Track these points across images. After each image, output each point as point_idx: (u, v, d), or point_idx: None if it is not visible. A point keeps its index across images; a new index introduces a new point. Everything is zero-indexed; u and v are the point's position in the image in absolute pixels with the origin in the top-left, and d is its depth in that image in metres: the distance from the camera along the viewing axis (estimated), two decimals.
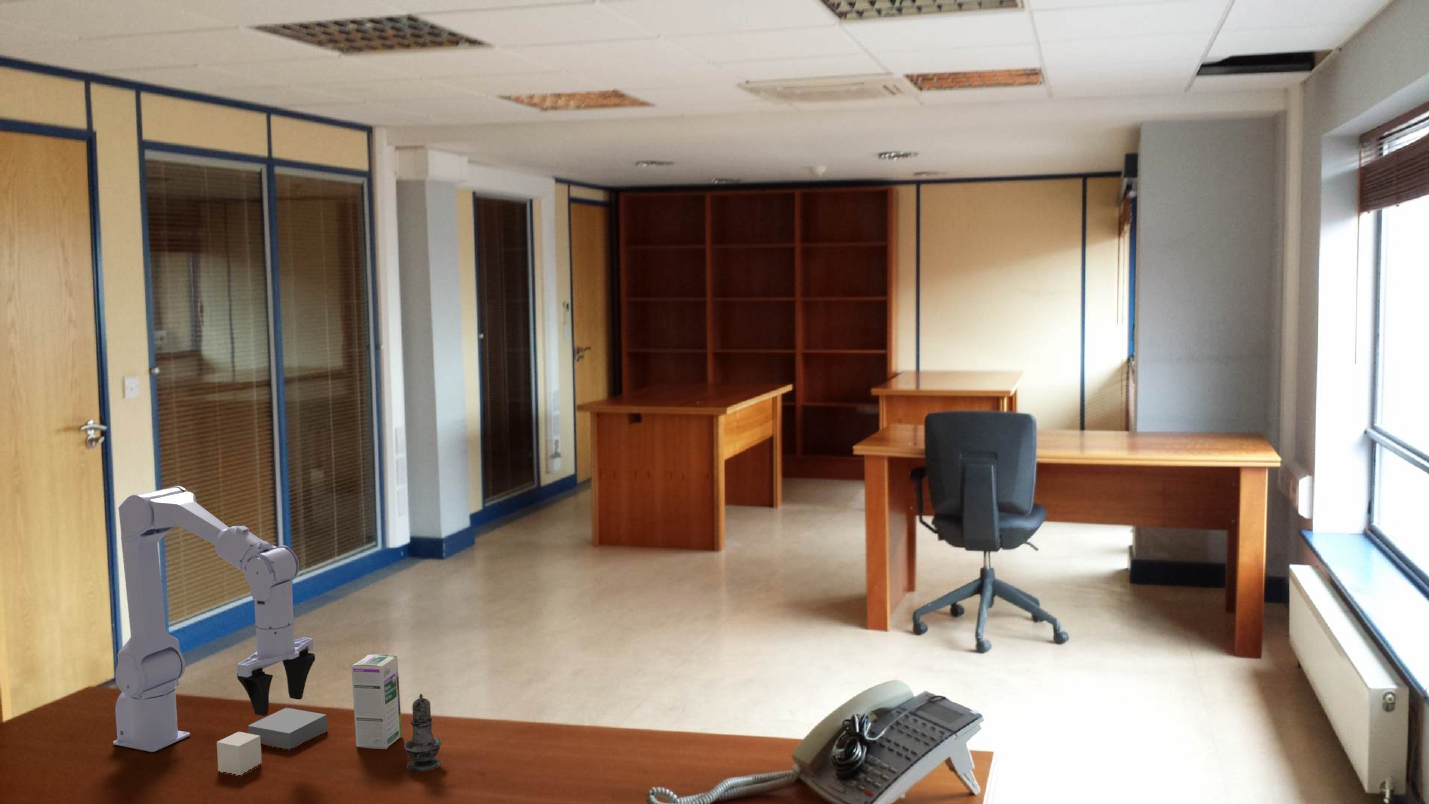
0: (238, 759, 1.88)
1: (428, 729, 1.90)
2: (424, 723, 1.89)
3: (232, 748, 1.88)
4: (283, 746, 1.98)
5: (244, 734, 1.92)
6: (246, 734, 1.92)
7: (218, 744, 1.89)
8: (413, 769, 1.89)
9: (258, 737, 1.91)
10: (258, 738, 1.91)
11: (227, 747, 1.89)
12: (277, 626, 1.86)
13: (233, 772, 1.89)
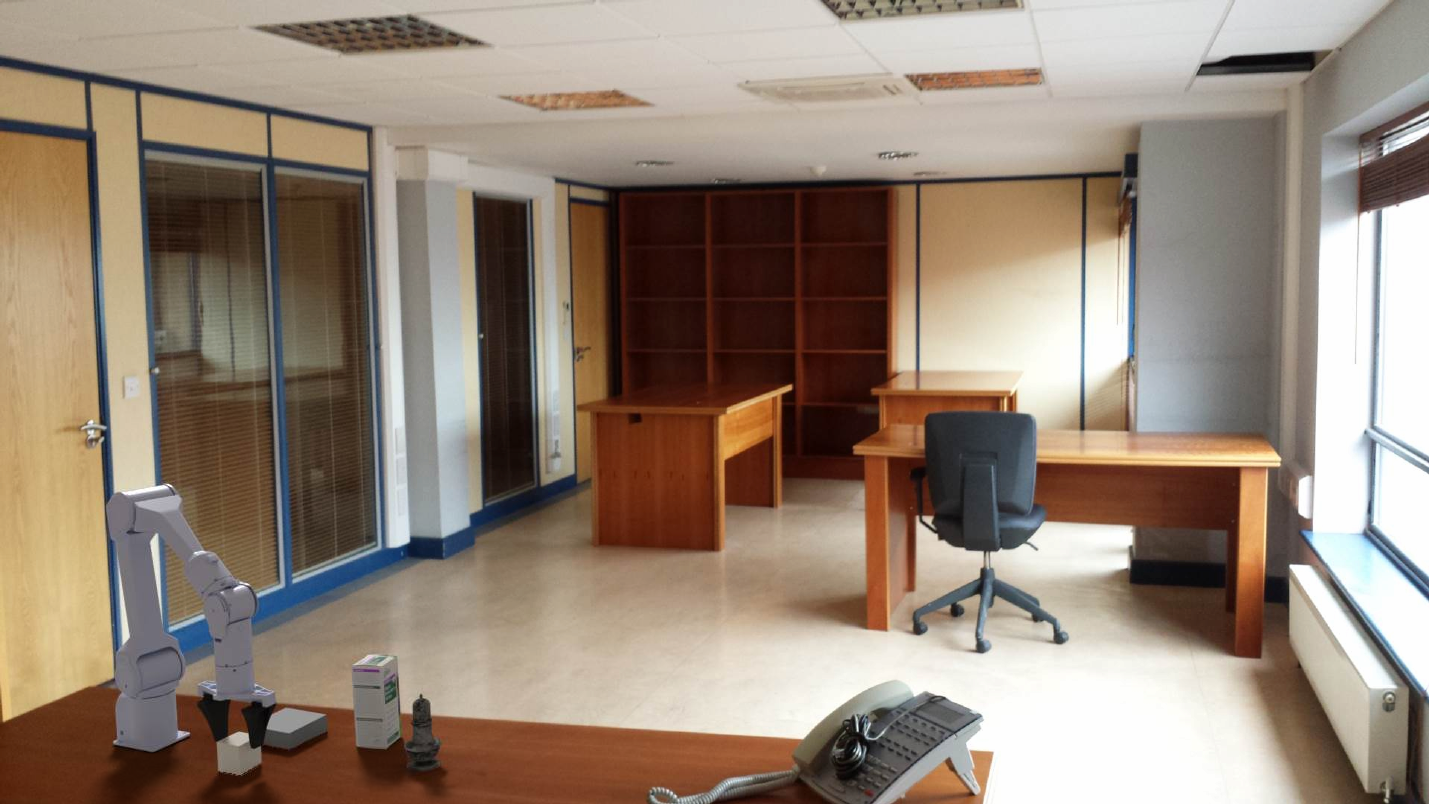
0: (238, 759, 1.88)
1: (428, 729, 1.90)
2: (424, 723, 1.89)
3: (232, 748, 1.88)
4: (283, 746, 1.98)
5: (244, 734, 1.92)
6: (246, 734, 1.92)
7: (218, 744, 1.89)
8: (413, 769, 1.89)
9: None
10: None
11: (227, 747, 1.89)
12: (233, 664, 1.86)
13: (233, 772, 1.89)
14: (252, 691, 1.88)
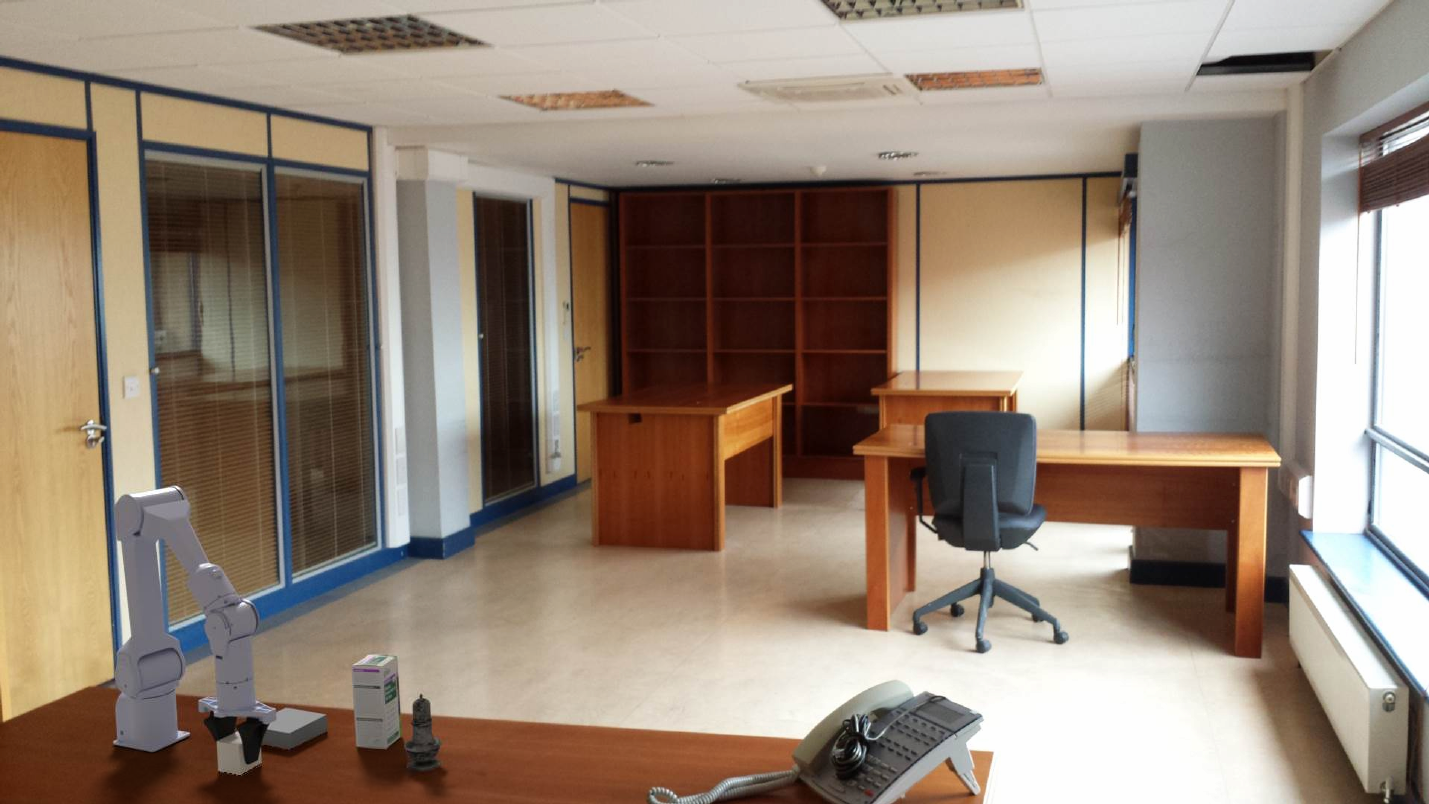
0: (238, 758, 1.88)
1: (428, 729, 1.90)
2: (424, 723, 1.89)
3: (232, 747, 1.88)
4: (283, 746, 1.98)
5: None
6: None
7: (218, 743, 1.89)
8: (413, 769, 1.89)
9: None
10: None
11: (227, 747, 1.89)
12: (234, 681, 1.87)
13: (233, 771, 1.89)
14: (253, 708, 1.88)
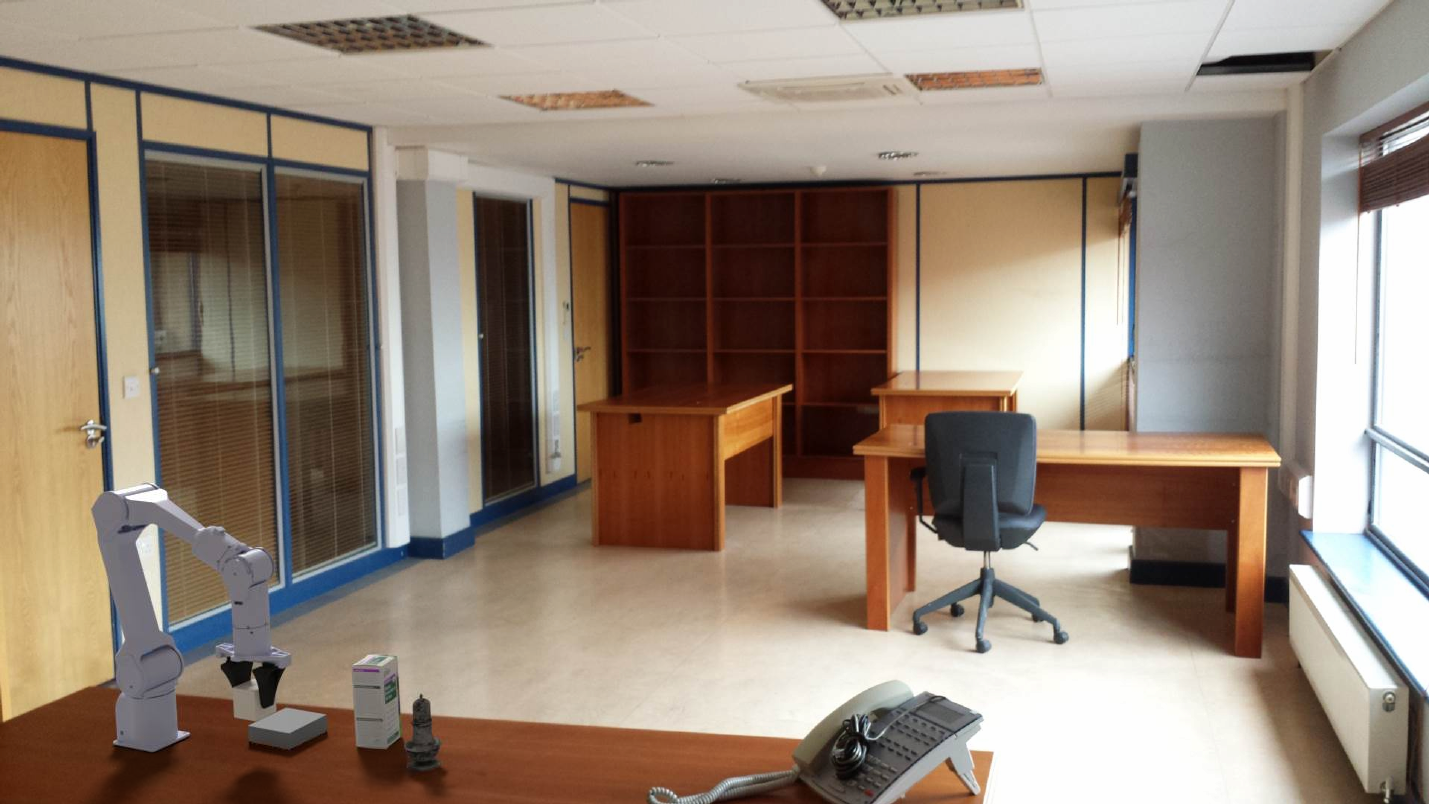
0: (253, 704, 1.92)
1: (428, 729, 1.90)
2: (424, 723, 1.89)
3: (248, 693, 1.92)
4: (283, 746, 1.98)
5: None
6: None
7: (234, 690, 1.93)
8: (413, 769, 1.89)
9: None
10: None
11: (242, 693, 1.92)
12: (255, 626, 1.91)
13: (248, 717, 1.92)
14: (268, 653, 1.92)
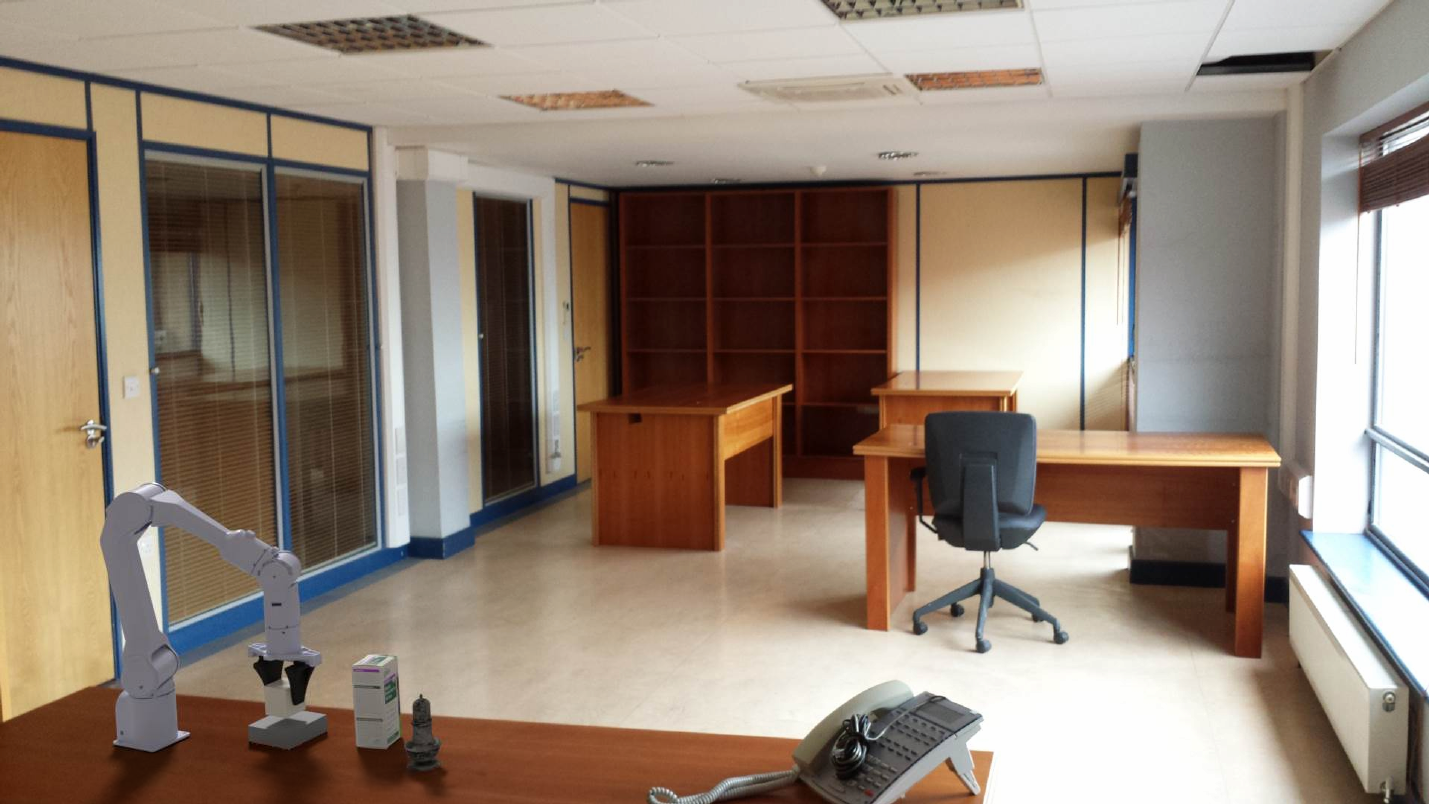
0: (284, 702, 2.00)
1: (428, 729, 1.90)
2: (424, 723, 1.89)
3: (279, 691, 2.00)
4: (283, 746, 1.98)
5: None
6: None
7: (265, 688, 2.01)
8: (413, 769, 1.89)
9: None
10: None
11: (274, 691, 2.00)
12: (292, 625, 2.00)
13: (280, 714, 2.00)
14: (300, 652, 2.01)
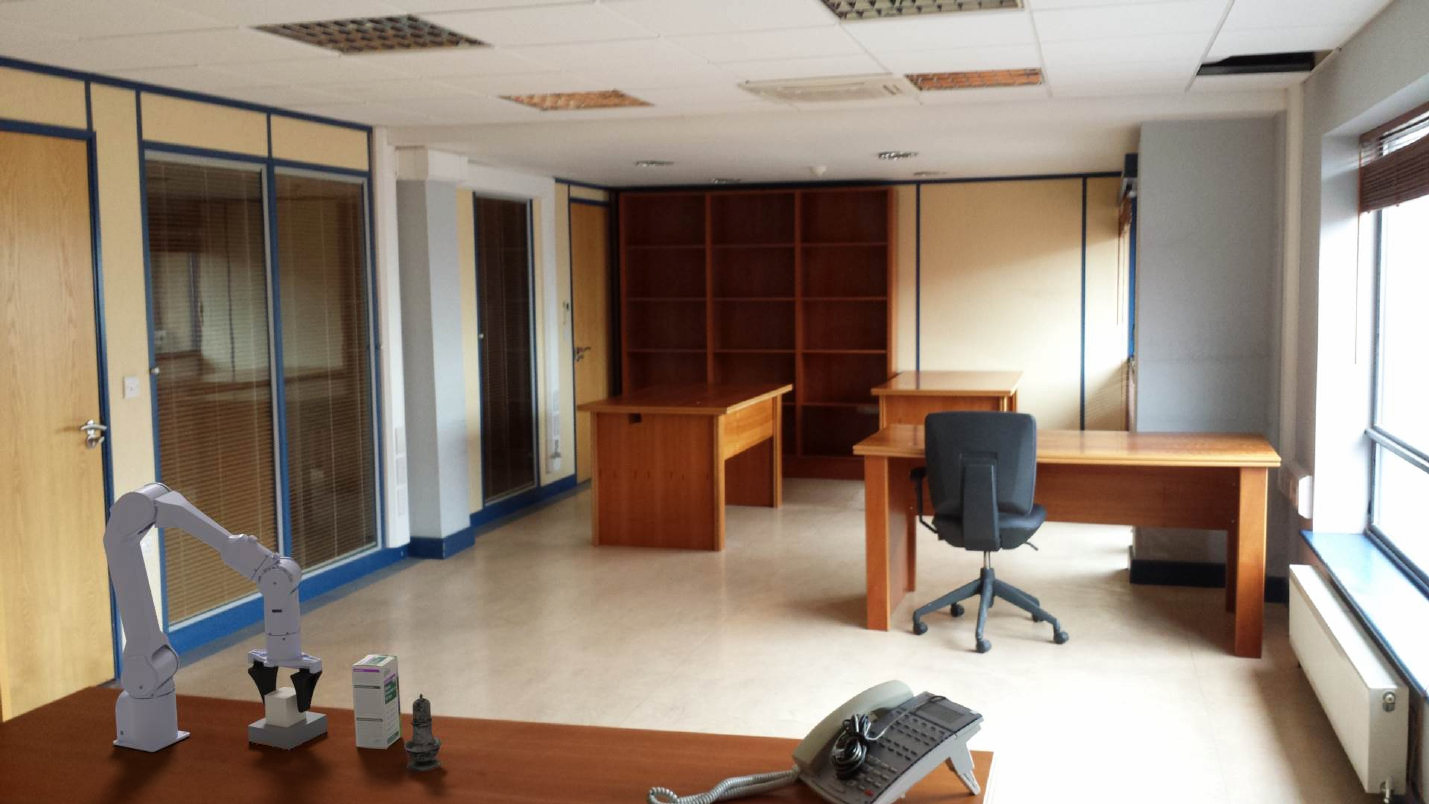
0: (285, 711, 2.00)
1: (428, 729, 1.90)
2: (424, 723, 1.89)
3: (280, 700, 2.00)
4: (283, 746, 1.98)
5: (289, 689, 2.04)
6: (291, 688, 2.04)
7: (266, 697, 2.01)
8: (413, 769, 1.89)
9: None
10: None
11: (274, 700, 2.01)
12: (293, 631, 2.00)
13: (280, 723, 2.01)
14: (300, 658, 2.01)
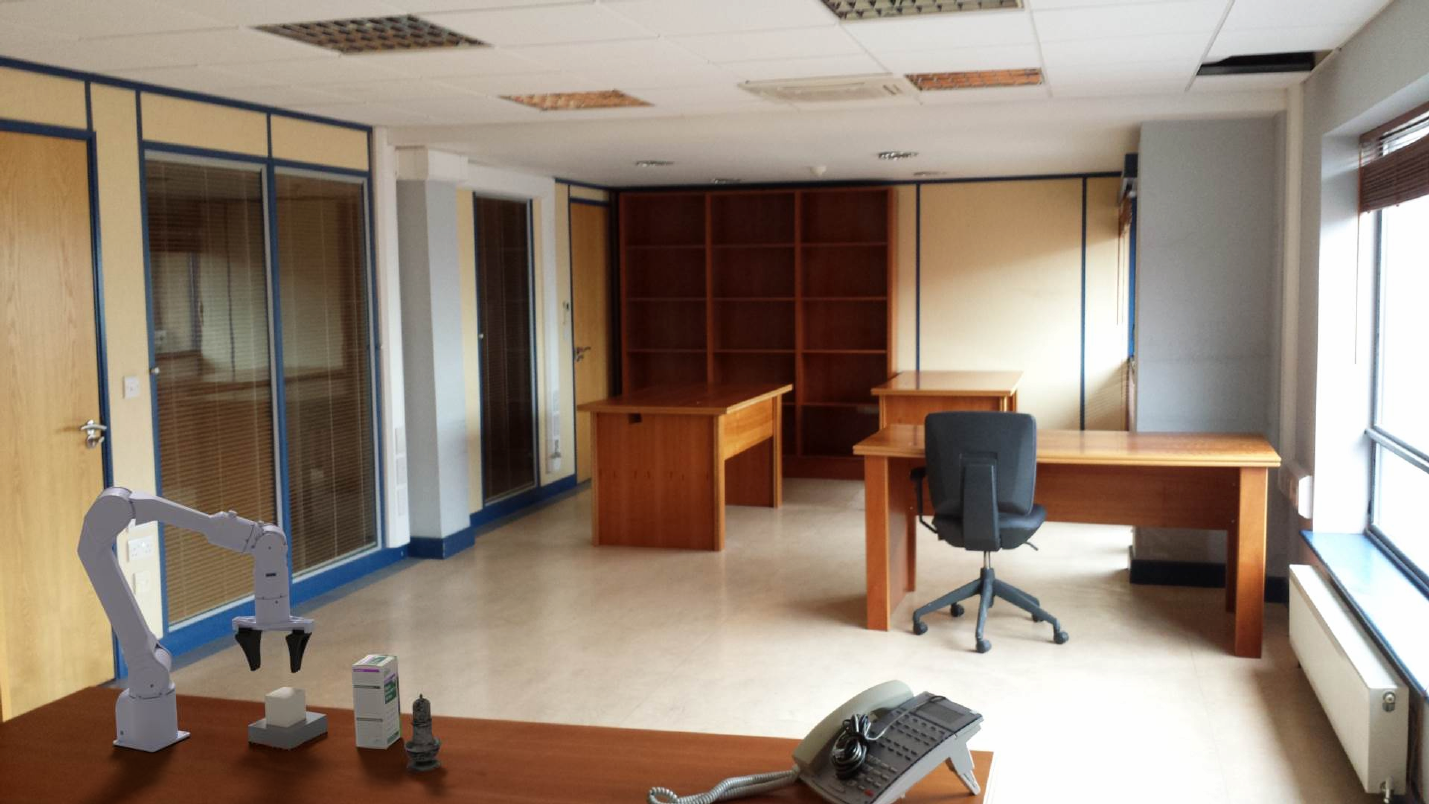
0: (285, 711, 2.00)
1: (428, 729, 1.90)
2: (424, 723, 1.89)
3: (280, 700, 2.00)
4: (283, 746, 1.98)
5: (289, 689, 2.04)
6: (291, 688, 2.04)
7: (266, 697, 2.01)
8: (413, 769, 1.89)
9: (303, 691, 2.03)
10: (303, 692, 2.03)
11: (274, 700, 2.01)
12: (285, 594, 2.06)
13: (280, 723, 2.01)
14: (291, 620, 2.07)
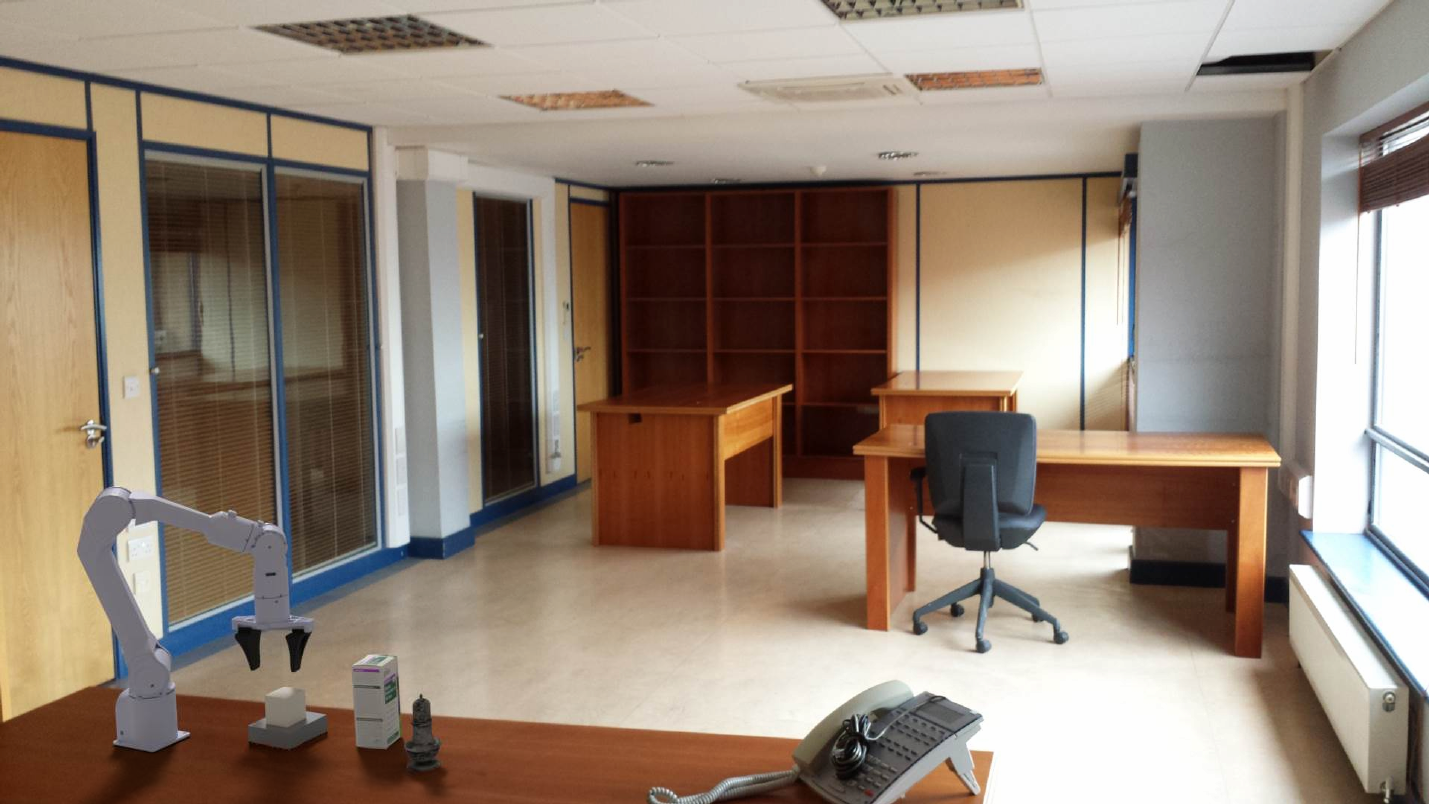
0: (285, 711, 2.00)
1: (428, 729, 1.90)
2: (424, 723, 1.89)
3: (280, 700, 2.00)
4: (283, 746, 1.98)
5: (289, 689, 2.04)
6: (291, 688, 2.04)
7: (266, 697, 2.01)
8: (413, 769, 1.89)
9: (303, 691, 2.03)
10: (303, 692, 2.03)
11: (274, 700, 2.01)
12: (285, 593, 2.06)
13: (280, 723, 2.01)
14: (291, 620, 2.07)
